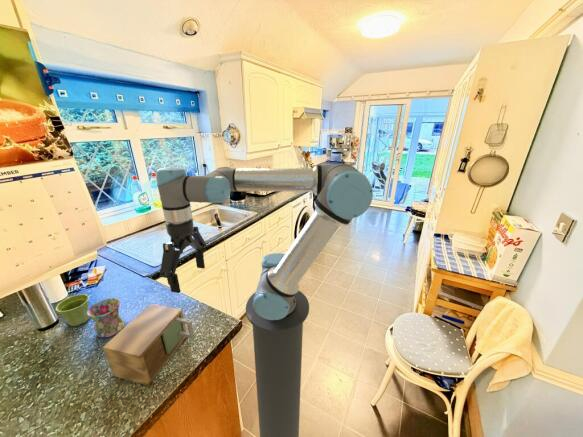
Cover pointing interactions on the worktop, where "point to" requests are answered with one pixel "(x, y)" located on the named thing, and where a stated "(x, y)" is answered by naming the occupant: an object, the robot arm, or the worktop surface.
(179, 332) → the sliding door
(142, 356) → the cupboard
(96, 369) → the worktop surface
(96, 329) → the mug
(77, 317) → the plant pot
